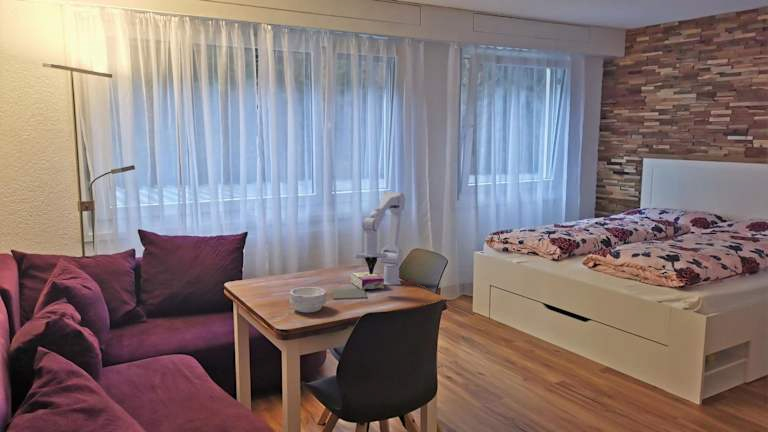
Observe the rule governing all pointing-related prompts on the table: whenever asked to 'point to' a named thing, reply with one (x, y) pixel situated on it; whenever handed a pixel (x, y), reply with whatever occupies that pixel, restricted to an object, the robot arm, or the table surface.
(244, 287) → the table surface
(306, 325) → the table surface
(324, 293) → the paper bowls
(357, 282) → the candy bar box
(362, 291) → the mat
